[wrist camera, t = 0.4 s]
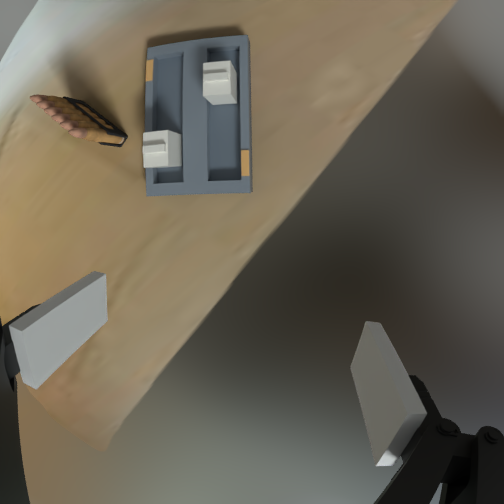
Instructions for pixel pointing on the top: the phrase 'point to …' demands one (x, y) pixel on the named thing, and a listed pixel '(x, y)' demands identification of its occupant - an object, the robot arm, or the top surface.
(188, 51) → the switch bank
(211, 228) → the top surface
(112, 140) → the ammunition clip
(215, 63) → the tab
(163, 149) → the tab
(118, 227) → the top surface
